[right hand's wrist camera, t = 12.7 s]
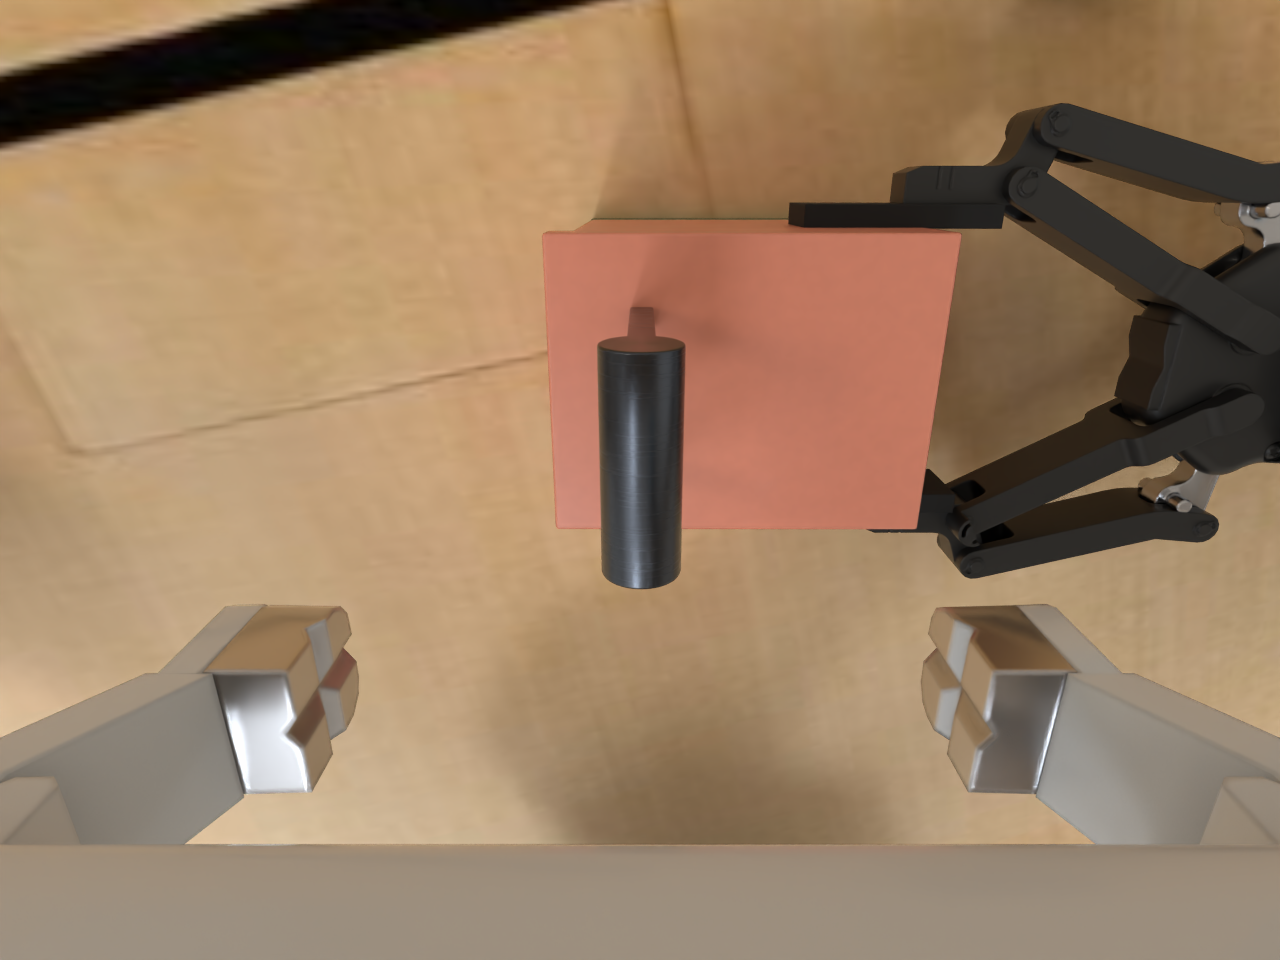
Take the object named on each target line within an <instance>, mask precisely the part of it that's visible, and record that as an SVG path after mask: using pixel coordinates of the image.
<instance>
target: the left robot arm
mask: <svg viewBox="0 0 1280 960" xmlns="http://www.w3.org/2000/svg"><path fill="white" fill-rule="evenodd" d="M1005 135H1006V140H1005V142H1004V144H1003V146H1002V148H1001V150H1000V152H999V154H998V155H997V156H996V158H995V159H994V160H993V161H991V162H990V163H988V164H987V165H984V166H917V167H908V168H905V169H903V170H900V171H898V172H896V173H893V179H892V187H891V196H890V203H790V205H789V219H788V224H789V225H794V226H798V227H803V228H930V229H1002V223H1003V217H1004V216H1006V217H1007V218H1009V219H1010V220H1012V221H1014V222H1015V223H1017V224H1018V225H1020V226H1021V227H1023V228H1025V229H1026V230H1028V231H1029V232H1031V233H1032V234H1034V235H1036V236H1037V237H1039V238H1040V239H1042V240H1043V241H1045V242H1047V243H1048V244H1050V245H1051V246H1053V247H1054V248H1056V249H1057V250H1059V251H1061V252H1062V253H1064V254H1065V255H1067V256H1068V257H1070V258H1072V259H1073V260H1075V261H1076V262H1078V263H1079V264H1081V265H1083V266H1084V267H1086V268H1087V269H1089V270H1090V271H1092V272H1094V273H1095V274H1097V275H1098V276H1100V277H1101V278H1103V279H1104V280H1106V281H1108V282H1109V283H1111V284H1112V285H1114V286H1115V289H1116V290H1117V291H1118V292H1119V293H1121V294H1123V295H1124V296H1126V297H1127V298H1129V299H1130V300H1132V301H1134V302H1135V303H1137V304H1138V305H1140V306H1141V307H1143V308H1145V310H1144V312H1143V313H1142V315H1141V316H1134V317H1133V322H1132V326H1131V330H1130V334H1129V358H1128V360H1127V362H1126V364H1125V366H1124V368H1123V370H1122V372H1121V374H1120V376H1119V378H1118V383H1117V387H1116V391H1115V395H1114V396H1116V397H1117V398H1115V399H1113V400H1111V401H1109V402H1107V403H1105V404H1102V405H1100V406H1098V407H1096V408H1094V409H1092V410H1090V411H1088V412H1087V413H1086V414H1085V418H1084V419H1083V420H1082V421H1080V422H1078V423H1076V424H1074V425H1072V426H1070V427H1068V428H1065V429H1063V430H1061V431H1059V432H1057V433H1055V434H1053V435H1050V436H1048V437H1046V438H1044V439H1042V440H1040V441H1037V442H1035V443H1033V444H1031V445H1029V446H1027V447H1024V448H1022V449H1020V450H1018V451H1016V452H1014V453H1012V454H1009V455H1007V456H1005V457H1003V458H1001V459H999V460H996V461H994V462H992V463H990V464H988V465H986V466H983V467H981V468H979V469H977V470H975V471H973V472H971V473H968V474H966V475H964V476H962V477H960V478H958V479H955V480H953V481H951V482H949V483H947V484H944V483H943V482H942V481H941V480H940V479H939V478H938V477H937V476H936V475H935V474H934V473H933V472H932V471H931V470H930V469H926V471H925V477H924V484H923V490H922V497H921V503H920V510H919V516H918V523H917V528H916V529H867V530H869V531H872V532H875V533H888V532H891V533H898V532H901V533H938V536H937V543H938V546H939V547H940V548H941V549H942V551H943V552H944V553H945V554H946V555H947V557H948V558H949V559H950V560H951V561H952V563H953V564H954V565H955V566H956V567H957V569H958V570H959V571H960V572H961V573H962V574H963V575H964V576H965V577H967V578H970V579H972V578H980V577H985V576H989V575H994V574H998V573H1003V572H1007V571H1012V570H1016V569H1021V568H1025V567H1030V566H1034V565H1039V564H1043V563H1048V562H1053V561H1057V560H1062V559H1066V558H1071V557H1075V556H1080V555H1084V554H1089V553H1093V552H1098V551H1102V550H1107V549H1111V548H1116V547H1121V546H1125V545H1130V544H1134V543H1139V542H1143V541H1148V540H1152V539H1163V540H1175V541H1186V542H1204V541H1206V540H1209V539H1210V538H1211V537H1213V536H1214V535H1215V533H1216V532H1217V530H1218V527H1219V522H1218V519H1217V518H1216V517H1215V516H1213V515H1211V514H1210V513H1208V512H1206V511H1205V509H1206V506H1207V504H1208V501H1209V499H1210V496H1211V494H1212V492H1213V489H1214V487H1215V484H1216V482H1217V480H1218V477H1219V475H1223V474H1227V473H1231V472H1233V471H1235V470H1238V469H1240V468H1242V467H1245V466H1247V465H1250V464H1254V463H1261V462H1265V463H1280V161H1270V162H1255V161H1251V160H1248V159H1245V158H1242V157H1238V156H1235V155H1232V154H1229V153H1226V152H1222V151H1219V150H1216V149H1213V148H1210V147H1206V146H1203V145H1200V144H1197V143H1193V142H1190V141H1187V140H1184V139H1181V138H1177V137H1174V136H1171V135H1168V134H1165V133H1161V132H1158V131H1155V130H1152V129H1149V128H1145V127H1142V126H1139V125H1136V124H1132V123H1129V122H1126V121H1123V120H1120V119H1116V118H1113V117H1110V116H1107V115H1104V114H1100V113H1097V112H1094V111H1091V110H1088V109H1084V108H1081V107H1078V106H1075V105H1071V104H1066V103H1060V104H1055V105H1050V106H1045V107H1040V108H1036V109H1031V110H1026V111H1022V112H1020V113H1017V114H1016V115H1014V116H1013V117H1012V118H1011V119H1010V121H1009V122H1008V124H1007V127H1006V131H1005ZM1053 160H1054V161H1058V162H1061V163H1064V164H1068V165H1071V166H1074V167H1077V168H1081V169H1084V170H1087V171H1091V172H1094V173H1097V174H1101V175H1104V176H1107V177H1110V178H1114V179H1117V180H1120V181H1124V182H1127V183H1130V184H1134V185H1137V186H1140V187H1143V188H1147V189H1150V190H1153V191H1157V192H1160V193H1163V194H1167V195H1170V196H1173V197H1176V198H1180V199H1184V200H1189V201H1195V202H1211V203H1216V205H1215V207H1214V213H1215V214H1216V215H1217V216H1220V218H1221V220H1222V222H1223V223H1225V224H1226V225H1229V226H1234V227H1237V228H1239V229H1240V230H1241V231H1242V232H1243V235H1244V244H1242V245H1239V246H1237V247H1236V248H1234V249H1232V250H1231V251H1229V252H1227V253H1226V254H1224V255H1223V256H1221V257H1219V258H1218V259H1216V260H1215V261H1213V262H1211V263H1210V264H1208V265H1207V266H1205V267H1203V268H1202V269H1198V268H1196V267H1193V266H1190V265H1188V264H1185V263H1183V262H1181V261H1180V260H1178V259H1177V258H1175V257H1173V256H1172V255H1170V254H1169V253H1167V252H1166V251H1164V250H1163V249H1161V248H1160V247H1158V246H1157V245H1155V244H1154V243H1152V242H1151V241H1149V240H1148V239H1146V238H1145V237H1143V236H1142V235H1140V234H1139V233H1137V232H1136V231H1134V230H1133V229H1131V228H1130V227H1128V226H1126V225H1125V224H1123V223H1122V222H1120V221H1119V220H1117V219H1116V218H1114V217H1113V216H1111V215H1110V214H1108V213H1107V212H1105V211H1104V210H1102V209H1101V208H1099V207H1098V206H1096V205H1095V204H1093V203H1092V202H1090V201H1089V200H1087V199H1086V198H1084V197H1082V196H1081V195H1079V194H1078V193H1076V192H1075V191H1073V190H1072V189H1070V188H1069V187H1067V186H1066V185H1064V184H1063V183H1061V182H1060V181H1058V180H1057V179H1055V178H1054V177H1052V176H1051V175H1049V174H1048V173H1047V171H1048V169H1049V168H1050V166H1051V164H1052V162H1053ZM1170 456H1173V457H1174V458H1176V459H1177V460H1178V461H1180V463H1179V465H1178V467H1177V468H1176V469H1175V470H1174V471H1173V472H1172V473H1171V474H1169V475H1166V476H1163V477H1157V478H1154V479H1151V478H1144V479H1142V480H1141V481H1140V482H1139V484H1138V488H1116V489H1110V490H1105V491H1100V492H1096V493H1092V494H1087V495H1083V496H1079V497H1074V498H1070V499H1065V500H1061V501H1057V502H1052V503H1048V502H1050V501H1052V500H1054V499H1057V498H1059V497H1061V496H1063V495H1066V494H1068V493H1070V492H1072V491H1074V490H1077V489H1079V488H1081V487H1083V486H1086V485H1088V484H1090V483H1092V482H1095V481H1097V480H1099V479H1101V478H1104V477H1106V476H1108V475H1110V474H1112V473H1115V472H1117V471H1119V470H1121V469H1124V468H1126V467H1129V466H1147V465H1151V464H1154V463H1156V462H1159V461H1161V460H1163V459H1165V458H1168V457H1170ZM1045 503H1048V504H1045Z"/></svg>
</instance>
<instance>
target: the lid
mask: <svg viewBox="0 0 1280 960" xmlns="http://www.w3.org/2000/svg"><path fill="white" fill-rule="evenodd" d="M961 237H962V235H961V233H958V232H951V231H548V232H546V233H543V235H542V241H543V262H544V283H545V304H546V326H547V347H548V368H549V389H550V411H551V432H552V453H553V474H554V496H555V517H556V527H557V528H558V529H601V552H602V572H603V574H604V576H605V577H606V579H608V580H609V581H610V582H612V583H614V584H616V585H619V586H622V587H626V588H632V589H651V588H657V587H661V586H664V585H667V584H669V583H671V582H672V581H674V580H675V579H676V578H677V577H678V575H679V574H680V571H681V530H682V529H916V528H917V523H918V516H919V510H920V503H921V497H922V490H923V484H924V477H925V471H926V464H927V458H928V451H929V445H930V438H931V432H932V425H933V419H934V412H935V406H936V400H937V393H938V387H939V380H940V374H941V367H942V361H943V354H944V348H945V341H946V335H947V328H948V322H949V315H950V309H951V302H952V296H953V289H954V283H955V276H956V270H957V263H958V257H959V250H960V244H961Z"/></svg>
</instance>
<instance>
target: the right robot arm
mask: <svg viewBox="0 0 1280 960" xmlns="http://www.w3.org/2000/svg"><path fill="white" fill-rule="evenodd" d="M351 634H352V633H351V628H350V624H349V619H348V614H347V612H346V611H345V610H344V609H343V608H342V607H341V606H298V605H269V606H268V605H265V604H260V605H232V606H227V607H224V608H223V609H222V610H221V611H220V612H219V613H218V614H217V615H216V616H215V617H214V618H213V619H212V620H211V621H210V622H209V623H208V624H207V625H206V626H205V627H204V628H203V629H202V630H201V631H200V632H199V633H198V634H197V635H196V636H195V637H194V638H193V639H192V640H191V641H190V642H189V643H188V644H187V645H186V646H185V647H184V648H183V649H182V650H181V651H180V652H179V653H178V654H177V655H176V656H175V657H174V658H173V659H172V660H171V661H170V662H169V663H168V664H167V665H166V666H165V667H164V668H163V669H162V670H161V671H160V672H159V673H145V674H143V675H141V676H139V677H136V678H134V679H132V680H130V681H127V682H125V683H123V684H121V685H118V686H116V687H114V688H112V689H109V690H107V691H105V692H103V693H100V694H98V695H96V696H94V697H91V698H89V699H87V700H84V701H82V702H80V703H78V704H75V705H73V706H71V707H69V708H66V709H64V710H62V711H60V712H57V713H55V714H53V715H51V716H48V717H46V718H44V719H42V720H39V721H37V722H35V723H33V724H30V725H28V726H26V727H23V728H21V729H19V730H17V731H14V732H12V733H10V734H8V735H5V736H3V737H1V738H0V960H1280V738H1279V737H1276V736H1274V735H1272V734H1270V733H1267V732H1265V731H1263V730H1261V729H1258V728H1256V727H1254V726H1252V725H1249V724H1247V723H1245V722H1243V721H1240V720H1238V719H1236V718H1234V717H1231V716H1229V715H1227V714H1225V713H1222V712H1220V711H1218V710H1216V709H1213V708H1211V707H1209V706H1207V705H1204V704H1202V703H1200V702H1198V701H1195V700H1193V699H1191V698H1189V697H1186V696H1184V695H1182V694H1180V693H1177V692H1175V691H1173V690H1171V689H1168V688H1166V687H1164V686H1162V685H1159V684H1157V683H1155V682H1153V681H1150V680H1148V679H1146V678H1144V677H1141V676H1139V675H1137V674H1135V673H1121V672H1120V671H1119V670H1118V669H1117V668H1116V667H1115V666H1114V665H1113V664H1112V663H1111V662H1110V661H1109V660H1108V659H1107V658H1106V657H1105V656H1104V655H1103V654H1102V653H1101V652H1100V651H1099V650H1098V649H1097V648H1096V647H1095V646H1094V645H1093V644H1092V643H1091V642H1090V641H1089V640H1088V639H1087V638H1086V637H1085V636H1084V635H1083V634H1082V633H1081V632H1080V631H1079V630H1078V629H1077V628H1076V627H1075V626H1074V625H1073V624H1072V623H1071V622H1070V621H1069V620H1068V619H1067V618H1066V617H1065V616H1064V615H1063V614H1062V613H1061V612H1060V611H1059V610H1058V609H1057V608H1055V607H1053V606H1050V605H1047V604H1037V605H1012V606H972V607H940V608H936V609H935V612H934V614H933V616H932V618H931V622H930V628H929V633H928V634H929V636H930V637H931V639H932V641H933V642H934V644H935V645H936V647H937V648H936V649H935V650H934V651H933V652H932V653H931V654H930V655H929V656H928V657H927V658H926V660H925V661H924V662H923V670H922V678H921V689H922V700H923V705H924V708H925V711H926V715H927V717H928V719H929V721H930V723H931V725H932V727H933V729H934V730H935V731H936V732H938V733H939V734H941V735H942V736H944V737H945V738H947V739H949V740H950V741H949V746H948V752H947V755H948V757H949V758H950V760H951V762H952V764H953V766H954V767H955V769H956V771H957V773H958V775H959V776H960V778H961V780H962V782H963V784H964V785H965V787H966V789H967V791H968V792H981V793H1018V794H1036V798H1038V799H1039V800H1040V801H1042V802H1043V803H1044V804H1045V805H1047V806H1048V807H1049V808H1050V809H1052V810H1053V811H1054V812H1056V813H1057V814H1058V815H1059V816H1061V817H1062V818H1063V819H1064V820H1066V821H1067V822H1068V823H1070V824H1071V825H1072V826H1073V827H1075V828H1076V829H1077V830H1078V831H1080V832H1081V833H1082V834H1084V835H1085V836H1086V837H1087V838H1089V839H1090V840H1091V841H1092V842H1094V843H1095V844H185V843H186V842H188V841H189V840H190V839H192V838H193V837H194V836H195V835H197V834H198V833H199V832H201V831H202V830H203V829H204V828H206V827H207V826H208V825H209V824H211V823H212V822H213V821H215V820H216V819H217V818H218V817H220V816H221V815H222V814H223V813H225V812H226V811H227V810H229V809H230V808H231V807H232V806H234V805H235V804H236V803H238V802H239V801H240V800H241V799H243V798H244V794H262V793H297V792H312V791H313V789H314V787H315V786H316V784H317V782H318V780H319V778H320V776H321V775H322V773H323V771H324V769H325V767H326V766H327V764H328V762H329V760H330V758H331V757H332V755H333V752H332V746H331V741H330V740H332V739H333V738H335V737H336V736H338V735H339V734H341V733H342V732H344V731H345V730H346V729H347V727H348V725H349V723H350V721H351V719H352V717H353V715H354V712H355V707H356V703H357V699H358V694H359V675H358V669H357V662H356V661H355V660H354V658H353V657H352V656H351V655H350V654H349V653H348V652H347V651H346V650H345V649H344V648H343V647H344V645H345V644H346V642H347V641H348V639H349V637H350V636H351Z"/></svg>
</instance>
